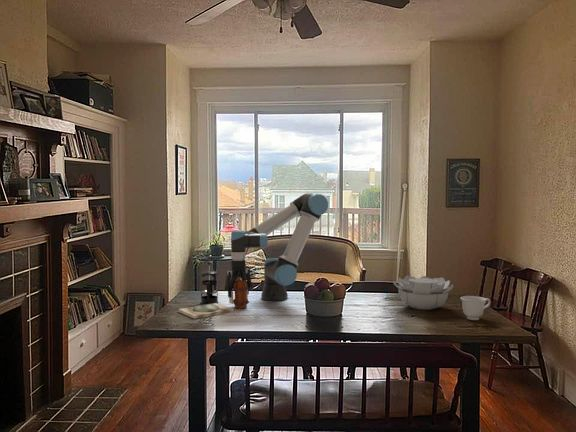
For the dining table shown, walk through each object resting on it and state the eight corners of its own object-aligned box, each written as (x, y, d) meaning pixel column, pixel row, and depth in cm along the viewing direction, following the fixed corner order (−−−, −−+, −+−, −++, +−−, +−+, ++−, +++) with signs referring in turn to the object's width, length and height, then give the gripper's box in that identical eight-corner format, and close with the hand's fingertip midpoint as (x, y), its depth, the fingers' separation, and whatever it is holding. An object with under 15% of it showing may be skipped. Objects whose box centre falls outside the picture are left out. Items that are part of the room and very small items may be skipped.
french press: (216, 305, 270) (216, 262, 269) (199, 305, 270) (199, 262, 268) (219, 300, 282) (219, 259, 280) (202, 300, 281) (202, 259, 280)
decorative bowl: (430, 299, 285) (430, 273, 284) (463, 312, 257) (464, 283, 256) (382, 303, 276) (383, 276, 275) (411, 316, 248) (412, 286, 247)
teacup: (496, 321, 240) (497, 300, 239) (467, 322, 237) (468, 301, 237) (482, 314, 252) (483, 295, 251) (455, 316, 249) (455, 296, 249)
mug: (250, 309, 261) (250, 280, 260) (234, 310, 258) (234, 281, 257) (244, 302, 275) (244, 275, 274) (229, 304, 272) (229, 276, 271)
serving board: (216, 305, 268) (216, 301, 268) (233, 311, 255) (233, 307, 255) (178, 312, 255) (178, 307, 254) (194, 318, 241) (194, 314, 241)
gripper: (250, 257, 274) (250, 298, 275) (217, 260, 261) (217, 303, 262) (258, 258, 268) (258, 300, 270) (224, 262, 255) (225, 306, 256)
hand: (238, 302), depth 266 cm, fingers closed on mug, 8 cm apart
